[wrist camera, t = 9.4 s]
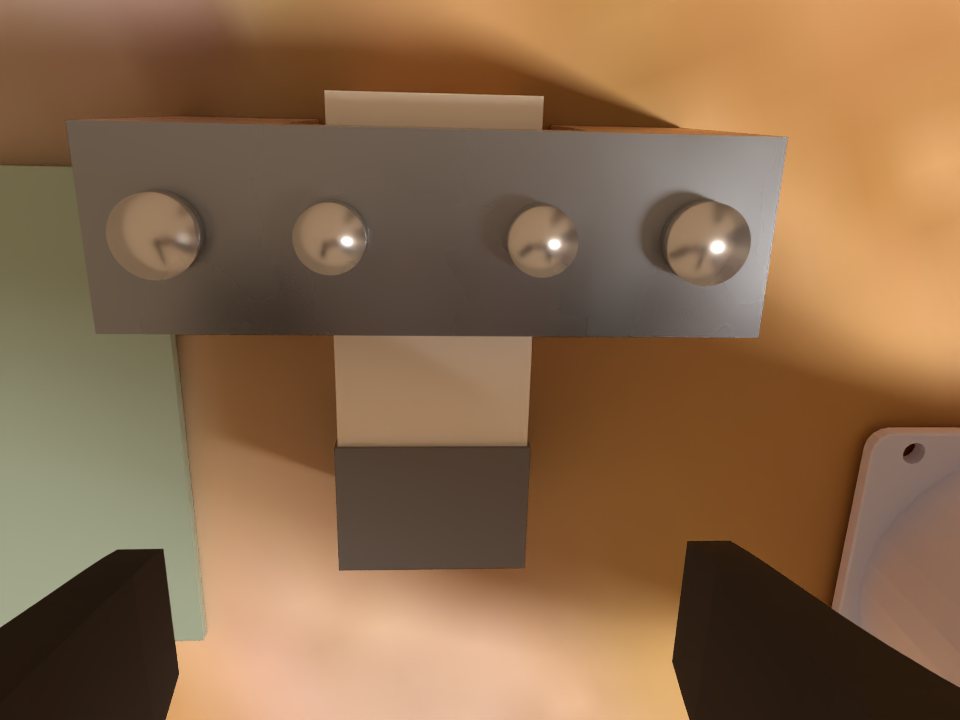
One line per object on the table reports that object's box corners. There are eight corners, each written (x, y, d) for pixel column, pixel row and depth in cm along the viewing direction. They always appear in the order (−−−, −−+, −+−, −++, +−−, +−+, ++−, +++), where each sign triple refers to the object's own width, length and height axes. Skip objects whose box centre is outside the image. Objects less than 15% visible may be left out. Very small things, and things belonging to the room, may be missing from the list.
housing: (682, 128, 15) (800, 138, 10) (667, 273, 16) (769, 345, 11) (178, 115, 15) (51, 120, 10) (193, 268, 16) (84, 341, 11)
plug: (522, 98, 15) (548, 96, 12) (507, 482, 18) (524, 567, 14) (345, 94, 15) (320, 89, 12) (356, 483, 18) (338, 570, 14)
